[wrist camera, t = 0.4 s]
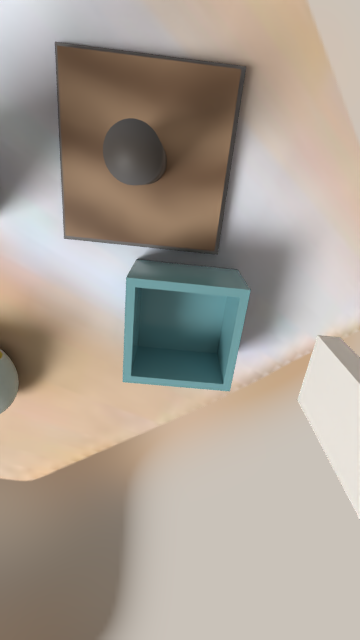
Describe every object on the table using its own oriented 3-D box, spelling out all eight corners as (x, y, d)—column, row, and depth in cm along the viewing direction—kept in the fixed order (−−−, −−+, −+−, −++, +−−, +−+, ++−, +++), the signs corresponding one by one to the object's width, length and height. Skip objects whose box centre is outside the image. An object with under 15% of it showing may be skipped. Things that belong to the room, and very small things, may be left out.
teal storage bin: (136, 259, 34) (126, 277, 27) (237, 269, 34) (250, 289, 28) (132, 348, 38) (122, 382, 32) (221, 356, 38) (229, 391, 32)
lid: (61, 50, 26) (5, -11, 18) (239, 73, 26) (265, 24, 18) (68, 234, 32) (30, 252, 24) (213, 249, 33) (224, 272, 24)
